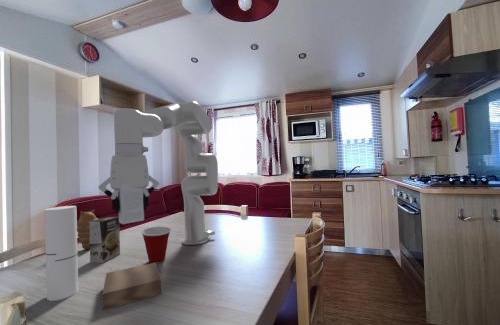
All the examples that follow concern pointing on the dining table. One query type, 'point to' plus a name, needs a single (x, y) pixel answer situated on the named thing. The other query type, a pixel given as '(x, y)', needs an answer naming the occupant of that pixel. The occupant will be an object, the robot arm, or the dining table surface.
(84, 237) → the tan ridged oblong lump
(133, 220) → the skincare box
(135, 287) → the walnut base
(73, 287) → the cylindrical container
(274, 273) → the dining table surface
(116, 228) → the coffee box
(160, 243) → the plastic cup
